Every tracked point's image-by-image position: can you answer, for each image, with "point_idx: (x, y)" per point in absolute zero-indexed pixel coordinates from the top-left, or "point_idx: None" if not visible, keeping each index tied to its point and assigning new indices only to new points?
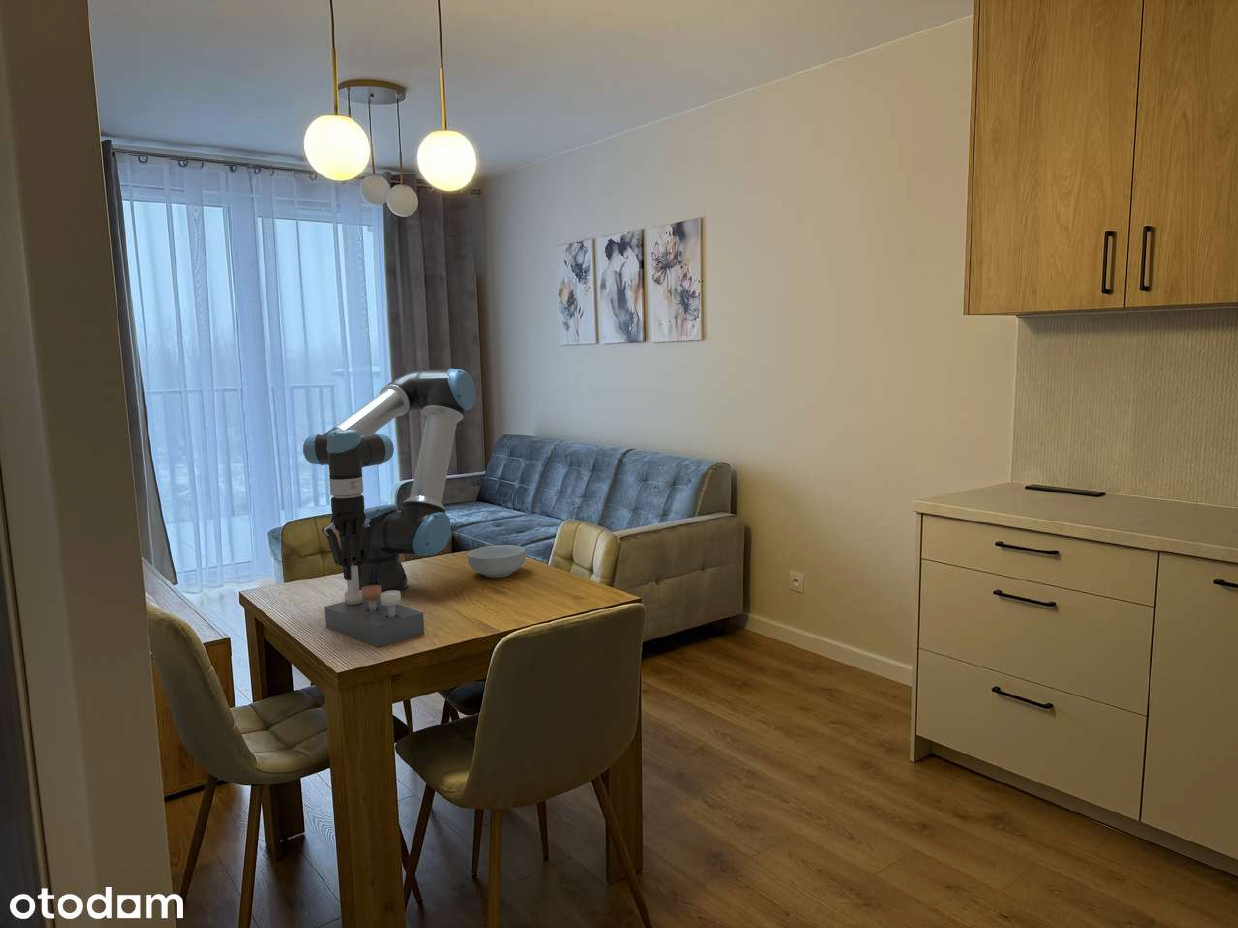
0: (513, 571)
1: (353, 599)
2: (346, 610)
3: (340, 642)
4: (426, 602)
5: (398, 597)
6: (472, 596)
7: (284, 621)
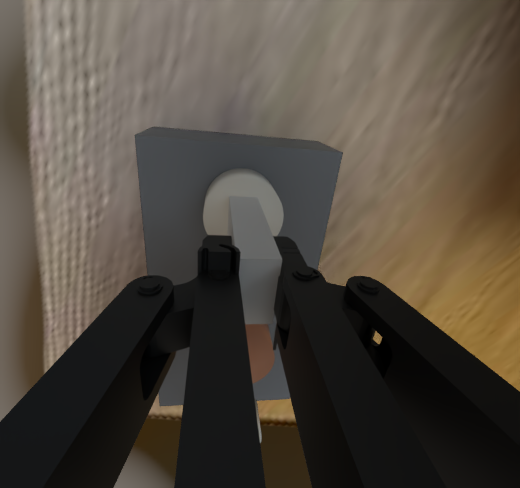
0: None
1: None
2: (173, 249)
3: (121, 280)
4: (474, 185)
5: None
6: None
7: None
